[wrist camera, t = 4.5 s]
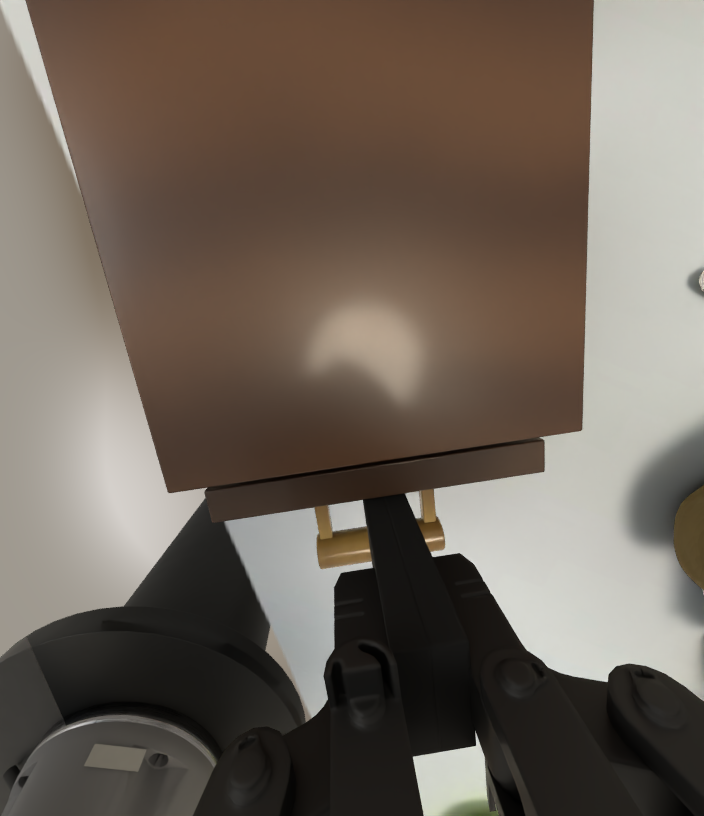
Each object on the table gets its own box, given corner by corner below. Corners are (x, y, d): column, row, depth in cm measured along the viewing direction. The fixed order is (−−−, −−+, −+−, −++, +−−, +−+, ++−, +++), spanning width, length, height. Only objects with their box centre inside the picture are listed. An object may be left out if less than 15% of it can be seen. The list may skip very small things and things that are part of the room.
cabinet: (456, 380, 21) (583, 431, 10) (251, 410, 20) (167, 494, 10) (439, 124, 18) (600, -182, 7) (197, 153, 17) (-13, -123, 7)
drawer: (458, 490, 21) (545, 598, 13) (279, 518, 21) (244, 648, 12) (438, 179, 17) (545, 28, 9) (215, 207, 17) (95, 80, 8)
